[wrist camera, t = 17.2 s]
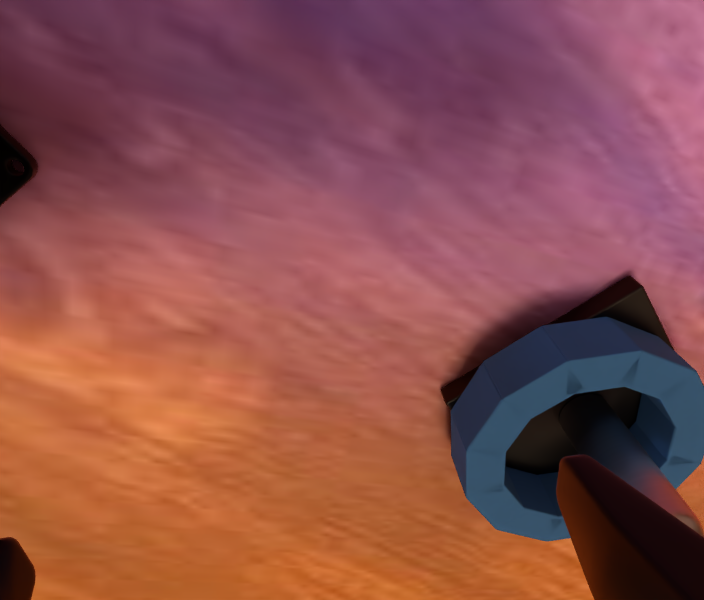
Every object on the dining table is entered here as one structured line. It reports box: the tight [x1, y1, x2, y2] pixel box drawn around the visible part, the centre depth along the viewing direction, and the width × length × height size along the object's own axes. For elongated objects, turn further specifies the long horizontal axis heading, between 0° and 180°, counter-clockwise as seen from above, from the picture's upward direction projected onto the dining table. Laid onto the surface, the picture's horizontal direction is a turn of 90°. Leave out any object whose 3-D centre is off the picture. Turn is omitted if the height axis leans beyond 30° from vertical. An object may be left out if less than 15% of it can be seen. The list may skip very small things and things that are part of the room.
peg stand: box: [441, 276, 704, 537], centre depth 21 cm, size 9×9×8 cm
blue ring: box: [451, 317, 704, 541], centre depth 22 cm, size 10×10×2 cm
